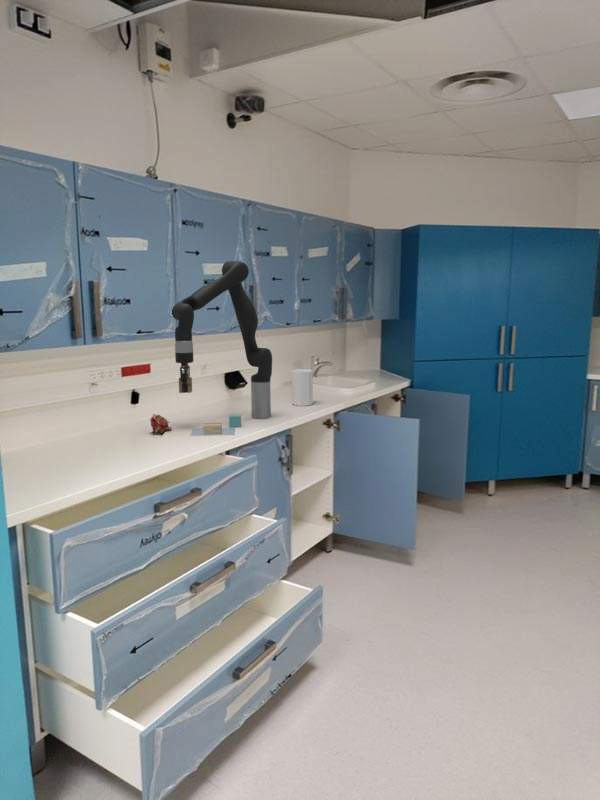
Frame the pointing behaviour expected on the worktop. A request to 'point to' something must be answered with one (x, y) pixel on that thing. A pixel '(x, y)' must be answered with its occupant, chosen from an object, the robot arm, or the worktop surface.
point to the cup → (302, 387)
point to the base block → (212, 428)
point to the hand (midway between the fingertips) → (185, 390)
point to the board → (201, 433)
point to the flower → (159, 424)
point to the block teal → (234, 420)
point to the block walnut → (188, 385)
